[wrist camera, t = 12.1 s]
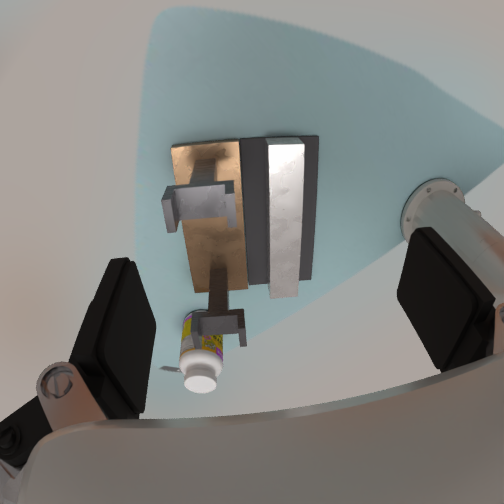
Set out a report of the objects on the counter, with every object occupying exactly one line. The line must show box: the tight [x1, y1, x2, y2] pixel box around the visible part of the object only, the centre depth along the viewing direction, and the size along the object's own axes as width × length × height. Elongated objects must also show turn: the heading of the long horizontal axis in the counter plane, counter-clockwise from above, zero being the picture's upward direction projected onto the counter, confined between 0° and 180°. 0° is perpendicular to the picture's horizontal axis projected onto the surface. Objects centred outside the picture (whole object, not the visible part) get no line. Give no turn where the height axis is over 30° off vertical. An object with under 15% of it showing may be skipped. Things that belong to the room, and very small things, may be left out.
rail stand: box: [161, 139, 248, 350], centre depth 37 cm, size 8×22×14 cm, turn 3°
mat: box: [240, 136, 319, 285], centre depth 43 cm, size 10×22×1 cm, turn 3°
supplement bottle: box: [179, 310, 223, 393], centre depth 48 cm, size 7×7×13 cm
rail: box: [265, 137, 305, 299], centre depth 41 cm, size 4×22×4 cm, turn 2°
